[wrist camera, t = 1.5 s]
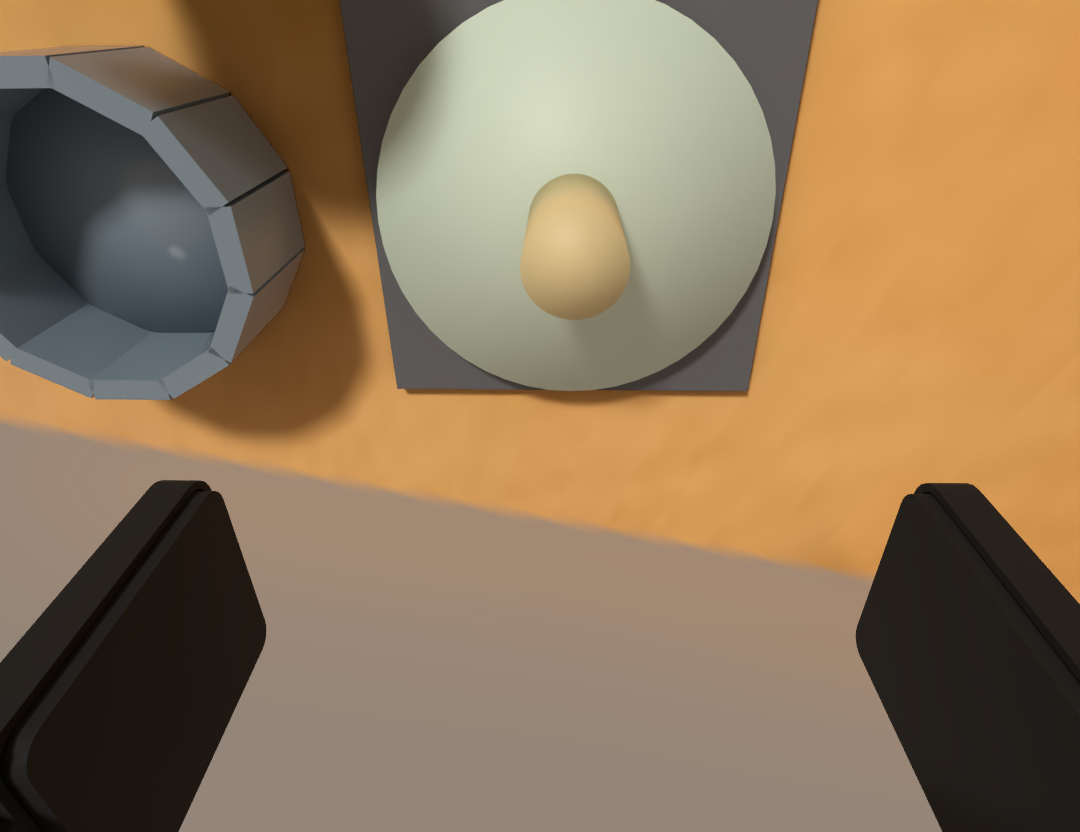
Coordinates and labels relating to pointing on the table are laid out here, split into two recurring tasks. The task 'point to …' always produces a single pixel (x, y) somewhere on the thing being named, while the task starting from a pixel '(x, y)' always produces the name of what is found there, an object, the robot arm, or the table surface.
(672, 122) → the lid
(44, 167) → the bowl
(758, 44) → the mat
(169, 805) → the robot arm
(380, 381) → the table surface
